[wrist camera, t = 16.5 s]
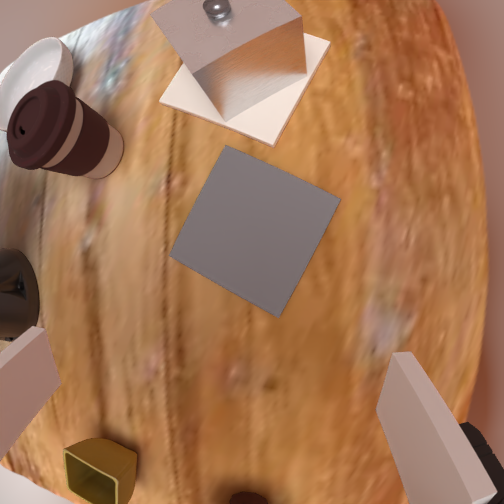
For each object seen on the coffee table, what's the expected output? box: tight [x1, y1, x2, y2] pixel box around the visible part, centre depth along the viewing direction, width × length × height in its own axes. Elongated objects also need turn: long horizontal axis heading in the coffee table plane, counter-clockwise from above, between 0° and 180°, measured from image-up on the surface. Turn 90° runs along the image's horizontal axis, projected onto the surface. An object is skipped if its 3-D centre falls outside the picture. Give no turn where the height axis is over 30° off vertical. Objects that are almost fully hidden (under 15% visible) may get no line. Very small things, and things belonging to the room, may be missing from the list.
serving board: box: [159, 33, 330, 148], centre depth 35 cm, size 16×16×1 cm
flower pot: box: [63, 438, 137, 504], centre depth 33 cm, size 9×9×9 cm
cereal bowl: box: [0, 37, 73, 132], centre depth 38 cm, size 17×17×7 cm
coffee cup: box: [7, 80, 123, 179], centre depth 32 cm, size 10×10×15 cm
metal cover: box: [150, 0, 307, 122], centre depth 29 cm, size 11×11×12 cm
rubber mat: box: [169, 145, 341, 318], centre depth 35 cm, size 14×14×1 cm
